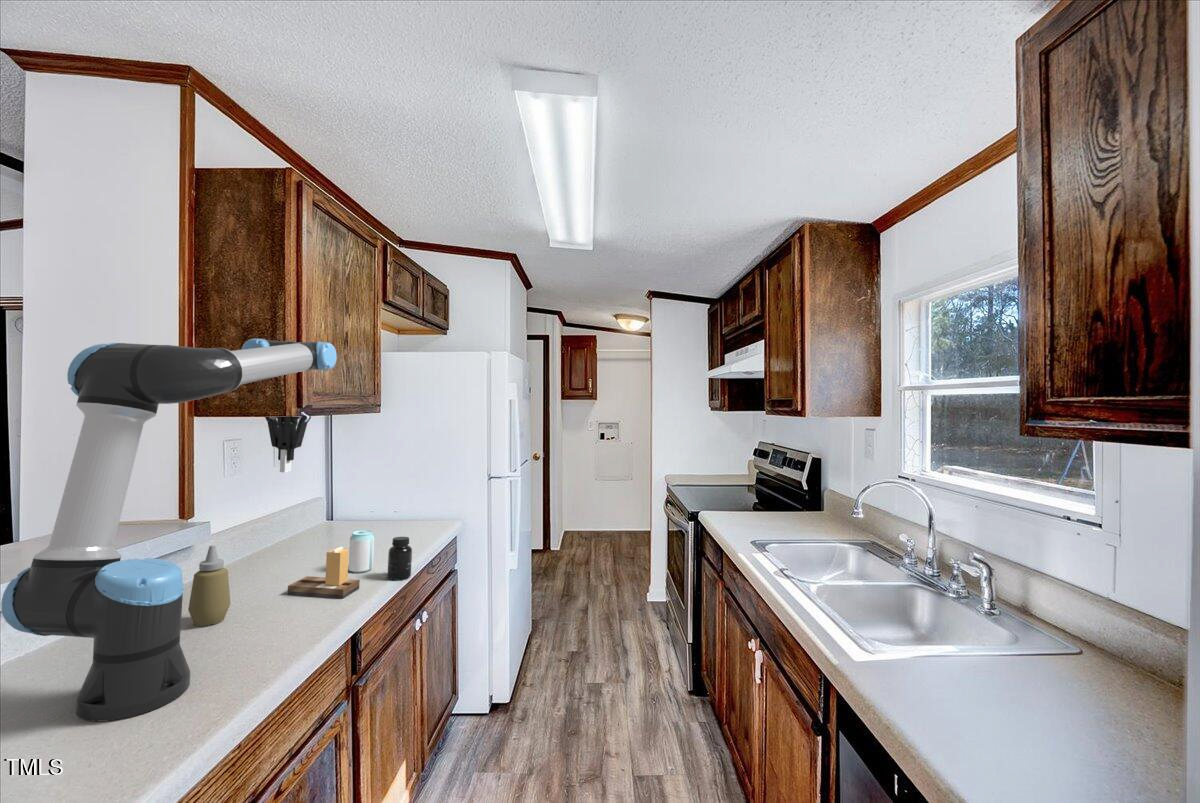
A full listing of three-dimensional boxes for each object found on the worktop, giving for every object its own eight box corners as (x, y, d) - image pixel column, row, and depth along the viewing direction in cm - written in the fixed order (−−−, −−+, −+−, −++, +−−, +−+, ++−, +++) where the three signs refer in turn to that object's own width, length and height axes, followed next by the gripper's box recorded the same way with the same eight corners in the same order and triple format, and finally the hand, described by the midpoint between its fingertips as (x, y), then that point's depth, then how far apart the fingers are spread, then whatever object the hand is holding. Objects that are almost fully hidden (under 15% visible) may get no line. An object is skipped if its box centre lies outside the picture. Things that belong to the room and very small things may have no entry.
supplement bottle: (413, 578, 159) (415, 539, 159) (390, 582, 155) (391, 542, 155) (407, 572, 165) (409, 534, 165) (385, 575, 161) (386, 536, 161)
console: (287, 594, 143) (287, 585, 143) (306, 584, 151) (306, 575, 151) (343, 598, 141) (343, 589, 141) (359, 588, 149) (359, 579, 149)
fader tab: (325, 590, 144) (326, 549, 144) (333, 585, 148) (335, 546, 148) (338, 591, 143) (340, 550, 144) (347, 586, 147) (348, 547, 148)
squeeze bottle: (207, 631, 119) (210, 552, 119) (178, 626, 121) (181, 549, 121) (238, 617, 127) (241, 543, 127) (210, 613, 129) (214, 540, 129)
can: (343, 572, 163) (345, 533, 163) (358, 565, 170) (360, 528, 170) (362, 574, 161) (364, 535, 161) (377, 568, 168) (379, 530, 168)
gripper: (318, 391, 155) (314, 471, 154) (276, 390, 156) (273, 469, 156) (301, 391, 147) (297, 474, 147) (258, 389, 148) (254, 472, 148)
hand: (285, 471), depth 151 cm, fingers closed
